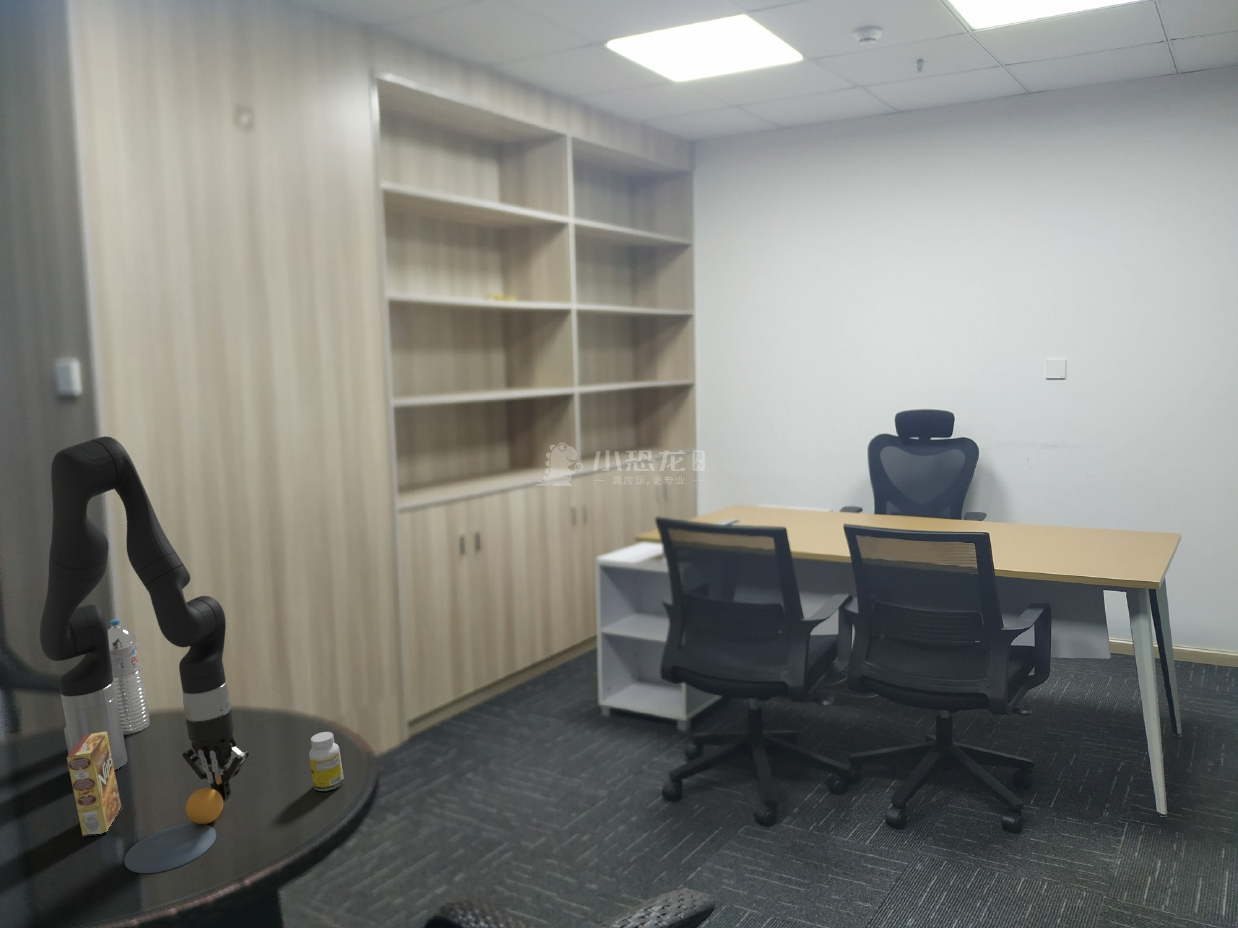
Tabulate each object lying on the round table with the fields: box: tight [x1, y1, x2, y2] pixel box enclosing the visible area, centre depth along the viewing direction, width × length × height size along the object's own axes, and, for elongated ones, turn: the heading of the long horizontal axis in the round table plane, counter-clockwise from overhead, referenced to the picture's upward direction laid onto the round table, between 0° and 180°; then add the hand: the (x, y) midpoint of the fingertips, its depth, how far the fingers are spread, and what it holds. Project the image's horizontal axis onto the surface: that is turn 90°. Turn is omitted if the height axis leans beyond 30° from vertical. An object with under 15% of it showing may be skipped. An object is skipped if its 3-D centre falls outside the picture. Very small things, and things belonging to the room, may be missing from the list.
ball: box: [185, 787, 224, 825], centre depth 161 cm, size 6×6×6 cm
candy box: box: [66, 732, 122, 836], centre depth 163 cm, size 9×4×15 cm, turn 13°
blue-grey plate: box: [123, 822, 217, 874], centre depth 154 cm, size 14×14×1 cm
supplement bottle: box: [308, 731, 345, 789], centre depth 170 cm, size 5×5×10 cm
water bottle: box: [107, 618, 151, 736], centre depth 201 cm, size 7×7×25 cm
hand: (222, 799), depth 166 cm, fingers closed
